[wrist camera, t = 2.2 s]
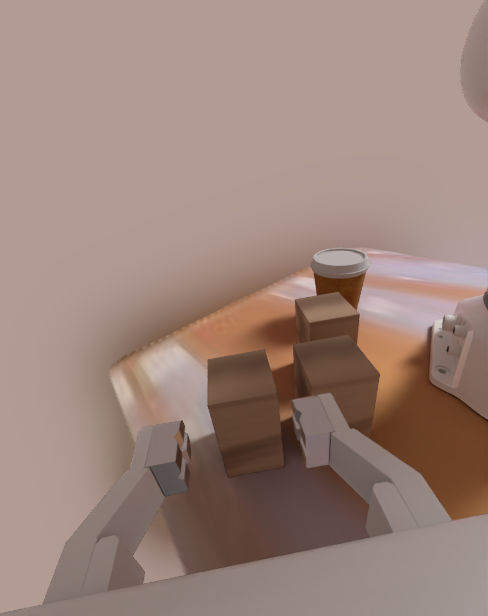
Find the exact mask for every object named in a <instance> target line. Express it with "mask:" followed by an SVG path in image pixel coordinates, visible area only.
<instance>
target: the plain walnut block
mask: <svg viewBox="0 0 488 616" xmlns="http://www.w3.org/2000/svg"><path fill="white" fill-rule="evenodd" d="M208 409H209V412H210V416H211V419H212V423H213V426H214V430H215V433H216V437H217V440H218V444H219V447H220V451H221V454H222V458H223V461H224V465H225V468H226V472H227V475H228V478H229V477H234V476H240V475H245V474H250V473H255V472H260V471H265V470H271V469H276V468H281V467H285V466H284V455H283V445H282V435H281V424H280V414H279V404H278V393H277V390H276V386H275V383H274V379H273V376H272V373H271V369H270V366H269V362H268V359H267V356H266V352H265V349H264V350H259V351H253V352H247V353H242V354H236V355H230V356H225V357H219V358H214V359H208Z"/></svg>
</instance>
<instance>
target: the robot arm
mask: <svg viewBox="0 0 488 616" xmlns="http://www.w3.org/2000/svg"><path fill="white" fill-rule="evenodd" d="M460 70H461V71H460V73H461V85H462V90H463V93H464V96H465V99H466V101H467V103H468V105H469V106H470V107H471V109H472V110H473V111H474V112H475V113H476V114H477V115H478V116H479V117H480V118H482V119H483V120H485V121H487V122H488V0H484V2H483V3H482V5H481V7H480V9H479V11H478V13H477V15H476V17H475V18H474V21H473V23H472V26H471V28H470V30H469V33H468V36H467V39H466V42H465V45H464V49H463V54H462V59H461V69H460ZM429 380H430V382H431V383H432V384H434V385H435V386H437V387H438V388H440V389H442V390H444V391H446V392H448V393H450V394H452V395H455V396H456V397H458V398H459V399H460V400H462V401H463V402H464V403H466V404H467V405H468V406H469V407H470V408H472V409H473V410H474V411H476V412H477V413H478V414H480V415H481V416H483V417H484V418H486V419H488V288H487V291H486V292H485V294H483V295H479V296H476V297H472V298H468V299H465V300H462V301H461V302H459V303H458V305H457V307H456V310H455V313H454V315H444V318H443V319H439V320H436V321H434V323H433V326H432V336H431V353H430V370H429ZM291 407H292V410H293V414H292V420H293V426H294V431H295V434H296V437H297V440H298V441H299V442H300V447H301V453H302V456H303V459H304V462H305V466H306V468H312V467H318V466H324V465H329V466H330V467H331V468H332V469H333V470H334V471H335V472H336V473H337V474H338V475H339V476H340V477H341V478H342V479H343V480H344V481H345V482H346V483H347V484H348V485H349V486H350V487H351V488H353V489H354V490H355V491H356V492H357V493H358V494H359V495H360V496H361V497H362V498H363V499H364V500H365V501H366V502H367V503H368V504H369V510H368V515H367V520H366V525H365V528H366V530H367V533H368V535H369V538H365V539H360V540H355V541H350V542H345V543H340V544H335V545H331V546H326V547H321V548H316V549H311V550H306V551H301V552H296V553H292V554H287V555H282V556H277V557H272V558H267V559H262V560H257V561H253V562H248V563H243V564H238V565H233V566H228V567H223V568H218V569H214V570H209V571H204V572H199V573H194V574H189V575H184V576H179V577H175V578H170V579H165V580H160V581H156V582H150V583H145V584H143V581H144V574H145V572H144V570H143V569H142V567H141V566H140V565H139V563H138V562H137V561H136V560H135V559H134V557H133V555H134V553H135V551H136V549H137V547H138V545H139V544H140V542H141V540H142V538H143V537H144V535H145V533H146V531H147V530H148V528H149V526H150V524H151V522H152V520H153V519H154V517H155V515H156V513H157V512H158V510H159V508H160V506H161V504H162V503H163V501H164V499H165V496H169V495H174V494H178V493H183V492H187V491H188V490H189V475H190V472H189V469H188V467H187V464H188V463H189V461H190V458H191V448H190V440H189V436H188V434H187V433H185V432H184V431H185V425H184V423H183V421H176V422H170V423H163V424H157V425H151V426H145V427H142V428H141V429H140V431H139V433H138V437H137V441H136V445H135V449H134V453H133V457H132V460H131V464H130V468H129V471H126V472H124V473H123V474H122V476H121V477H120V478H119V479H118V481H117V482H116V483H115V484H114V485H113V486H112V488H111V489H110V490H109V491H108V493H107V494H106V495H105V496H104V497H103V499H102V500H101V501H100V502H99V504H98V505H97V506H96V507H95V508H94V509H93V511H92V512H91V513H90V514H89V516H88V517H87V518H86V519H85V520H84V522H83V523H82V524H81V525H80V526H79V528H78V529H77V530H76V531H75V533H74V534H73V535H72V536H71V537H70V539H69V540H68V541H67V542H66V544H65V546H64V549H63V552H62V554H61V557H60V559H59V562H58V565H57V567H56V570H55V573H54V575H53V578H52V581H51V583H50V586H49V589H48V591H47V594H46V597H45V599H44V602H43V604H42V605H38V606H34V607H29V608H24V609H19V610H14V611H9V612H5V613H0V616H488V513H487V514H482V515H477V516H472V517H467V518H462V519H457V520H453V521H452V519H451V518H450V516H449V515H448V513H447V512H446V510H445V509H444V507H443V506H442V505H441V503H440V502H439V500H438V499H437V497H436V496H435V494H434V493H433V491H432V490H431V488H430V487H429V485H428V484H427V482H426V481H425V479H424V478H423V476H422V475H421V474H420V473H419V472H417V471H416V470H414V469H413V468H412V467H410V466H409V465H407V464H406V463H404V462H403V461H401V460H400V459H398V458H397V457H395V456H394V455H392V454H391V453H390V452H388V451H387V450H385V449H384V448H382V447H381V446H379V445H378V444H376V443H375V442H373V441H372V440H370V439H369V438H368V437H366V436H365V435H363V434H362V433H360V432H359V431H357V430H356V429H350V428H349V426H348V424H347V422H346V420H345V418H344V416H343V415H342V413H341V411H340V409H339V407H338V405H337V403H336V401H335V399H334V398H333V396H332V394H331V393H326V394H321V395H314V396H309V397H304V398H299V399H294V400H292V401H291Z"/></svg>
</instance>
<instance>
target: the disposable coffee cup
mask: <svg viewBox="0 0 488 616" xmlns="http://www.w3.org/2000/svg"><path fill="white" fill-rule="evenodd" d="M369 266H370V261H369V260H368V255H367V254H366V253H365V252H363V251H361V250H358V249H353V248H331V249H326V250H323V251H320V252H318V253H316V254H315V255H314V257H313V261H312V262H311V268H312V270H313V272H314V278H315V285H316V293H317V296H318V295H324V294H330V293H335V292H339V293H340V294H341V295H342V296H343V297H344V298H345V300H346V301H347V302H348V303H349V304H350V305H351V306H352V307H353V308H354V309H355V310H357V306H358V302H359V298H360V294H361V290H362V286H363V282H364V277H365V274H366V271H367V270H368V268H369Z"/></svg>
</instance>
